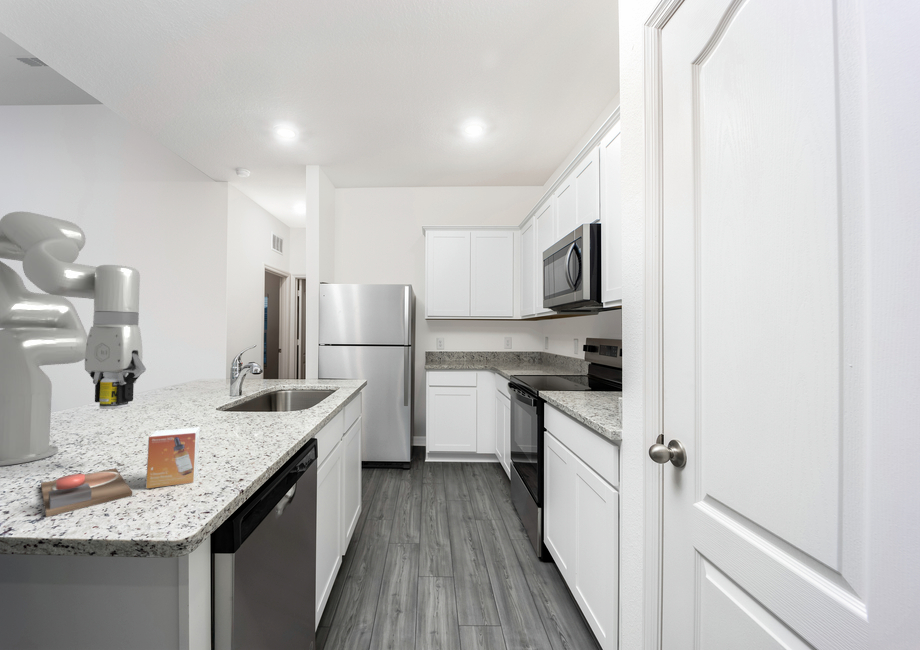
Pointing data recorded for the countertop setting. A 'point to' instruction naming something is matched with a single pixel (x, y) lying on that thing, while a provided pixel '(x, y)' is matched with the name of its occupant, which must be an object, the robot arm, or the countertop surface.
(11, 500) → the countertop surface
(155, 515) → the countertop surface
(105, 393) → the supplement bottle
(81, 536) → the countertop surface
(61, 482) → the button
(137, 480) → the countertop surface
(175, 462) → the small box
